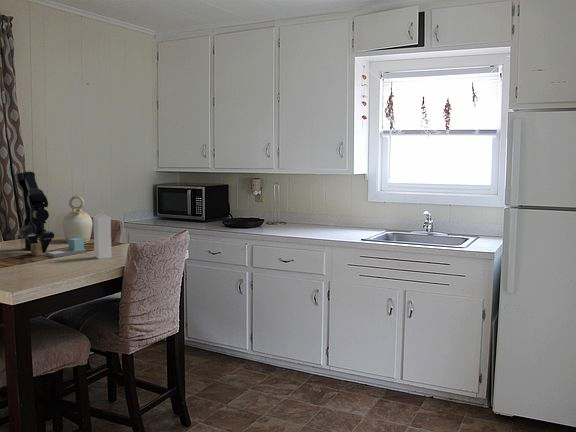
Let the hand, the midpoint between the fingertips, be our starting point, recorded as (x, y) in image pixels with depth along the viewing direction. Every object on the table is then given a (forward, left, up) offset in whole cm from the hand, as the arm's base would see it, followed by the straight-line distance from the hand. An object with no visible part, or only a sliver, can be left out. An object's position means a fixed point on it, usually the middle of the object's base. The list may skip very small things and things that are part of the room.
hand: (38, 251), depth 272 cm
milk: (+30, +15, -1) cm, 33 cm away
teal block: (+10, +14, 0) cm, 17 cm away
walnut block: (0, 0, -1) cm, 1 cm away
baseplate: (+10, +8, -1) cm, 13 cm away
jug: (-20, +34, -1) cm, 39 cm away
